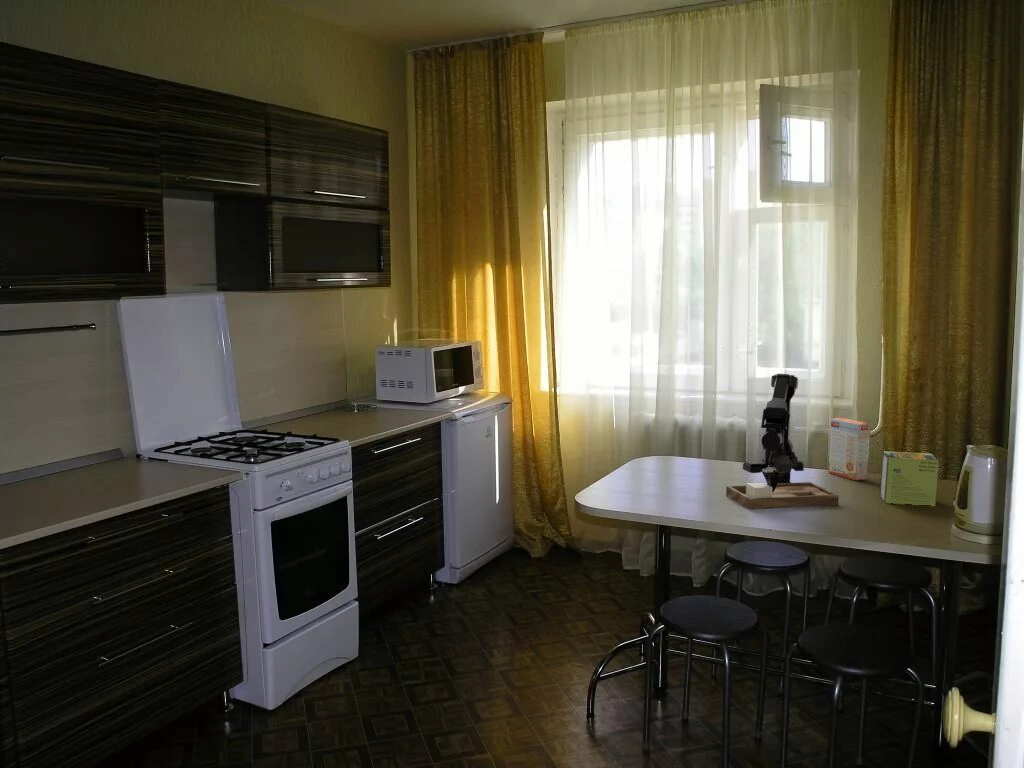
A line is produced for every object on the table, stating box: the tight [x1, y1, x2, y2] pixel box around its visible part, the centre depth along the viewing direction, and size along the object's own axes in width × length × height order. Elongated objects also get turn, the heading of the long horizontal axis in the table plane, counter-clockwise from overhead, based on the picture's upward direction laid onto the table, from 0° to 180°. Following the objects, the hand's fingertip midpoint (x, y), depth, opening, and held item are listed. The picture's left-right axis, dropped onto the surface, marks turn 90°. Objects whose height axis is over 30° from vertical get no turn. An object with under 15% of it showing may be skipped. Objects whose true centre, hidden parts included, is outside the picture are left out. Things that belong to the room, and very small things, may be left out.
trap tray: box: [725, 481, 840, 510], centre depth 284 cm, size 17×31×3 cm, turn 102°
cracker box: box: [827, 417, 872, 481], centre depth 316 cm, size 14×6×21 cm, turn 22°
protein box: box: [879, 450, 940, 507], centre depth 284 cm, size 10×15×16 cm
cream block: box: [745, 482, 772, 498], centre depth 278 cm, size 6×6×4 cm
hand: (772, 491), depth 279 cm, fingers closed
